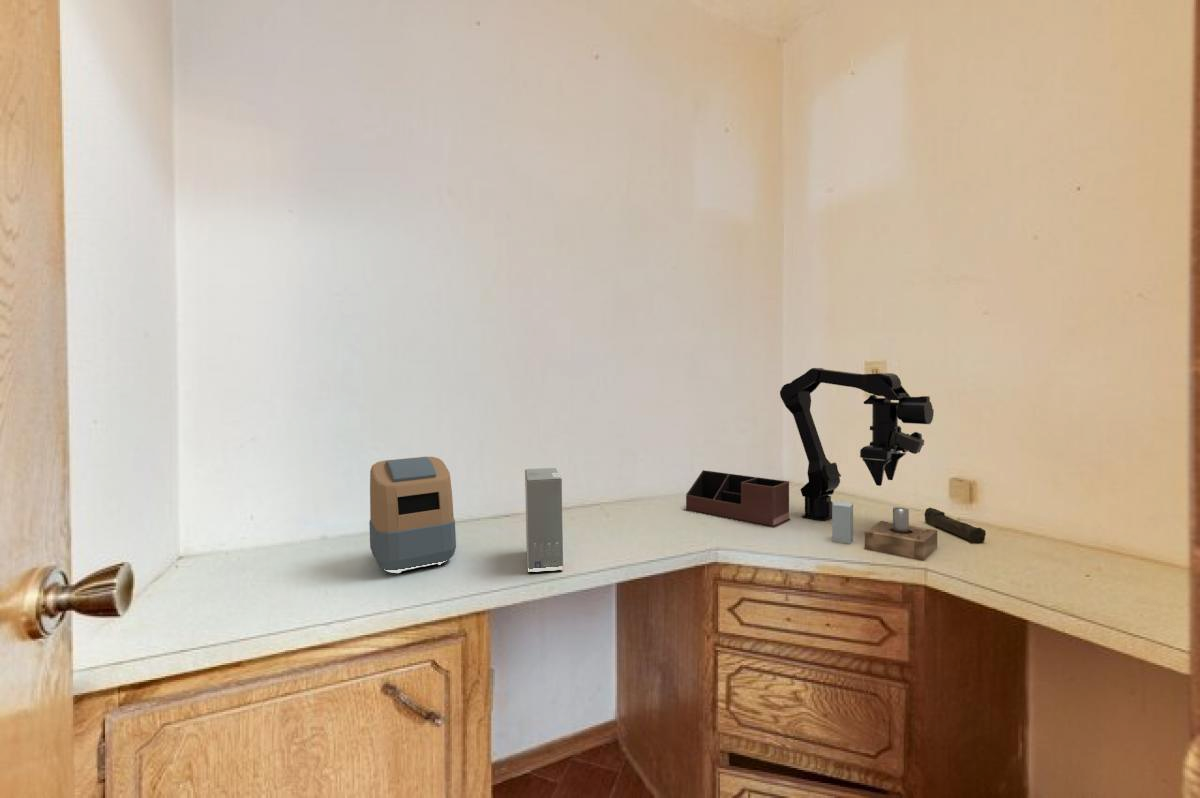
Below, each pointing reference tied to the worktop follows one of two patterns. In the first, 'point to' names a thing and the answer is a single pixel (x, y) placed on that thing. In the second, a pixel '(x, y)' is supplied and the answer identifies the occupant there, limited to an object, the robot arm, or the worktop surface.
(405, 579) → the worktop surface
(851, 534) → the gray rectangular block
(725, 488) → the desk organizer
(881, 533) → the bore block
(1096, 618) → the worktop surface
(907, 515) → the cylinder
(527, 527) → the hard drive box
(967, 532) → the hand tool
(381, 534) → the alarm clock
